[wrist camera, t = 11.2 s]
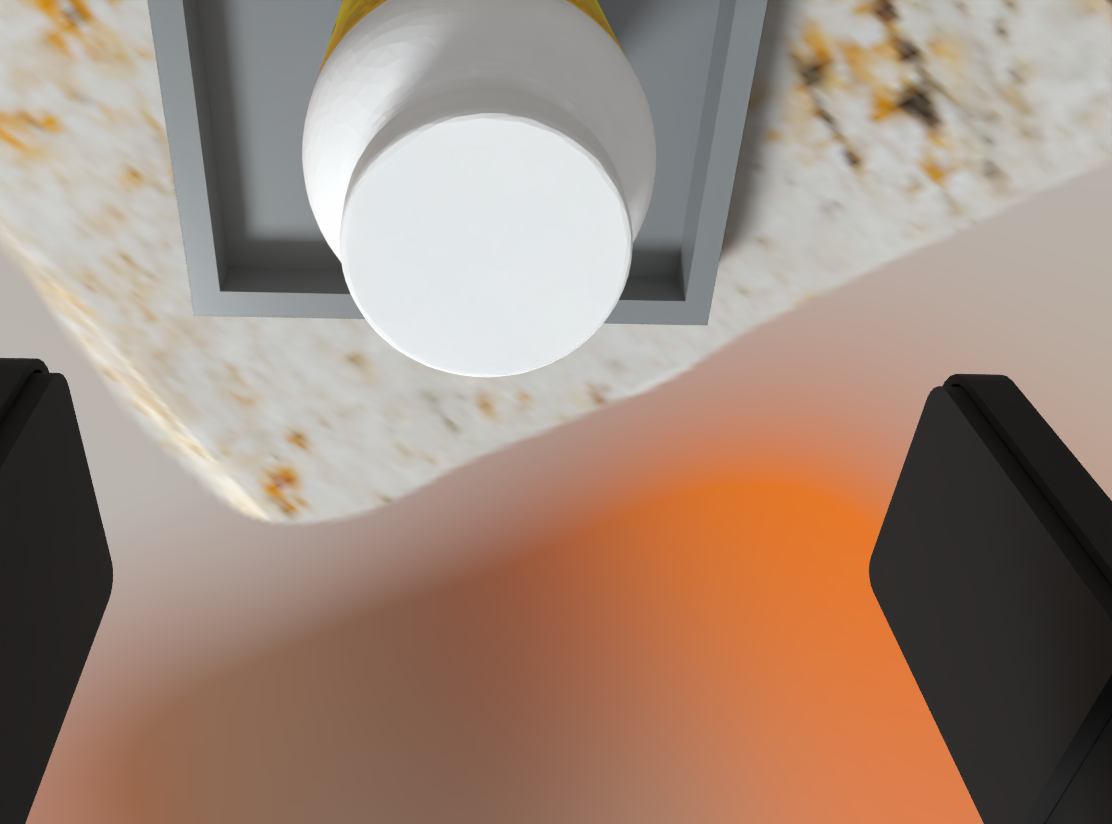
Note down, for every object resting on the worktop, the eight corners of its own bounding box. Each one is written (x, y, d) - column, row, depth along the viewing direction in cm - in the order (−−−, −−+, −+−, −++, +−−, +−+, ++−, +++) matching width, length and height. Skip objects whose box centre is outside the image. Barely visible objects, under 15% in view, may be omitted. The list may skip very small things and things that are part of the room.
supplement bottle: (302, -64, 24) (197, 101, 14) (564, -136, 24) (657, -22, 14) (390, 186, 28) (358, 464, 18) (617, 127, 28) (722, 374, 17)
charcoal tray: (785, -275, 24) (818, -274, 22) (690, 286, 32) (707, 325, 30) (128, -338, 22) (97, -343, 20) (210, 275, 30) (194, 316, 28)
